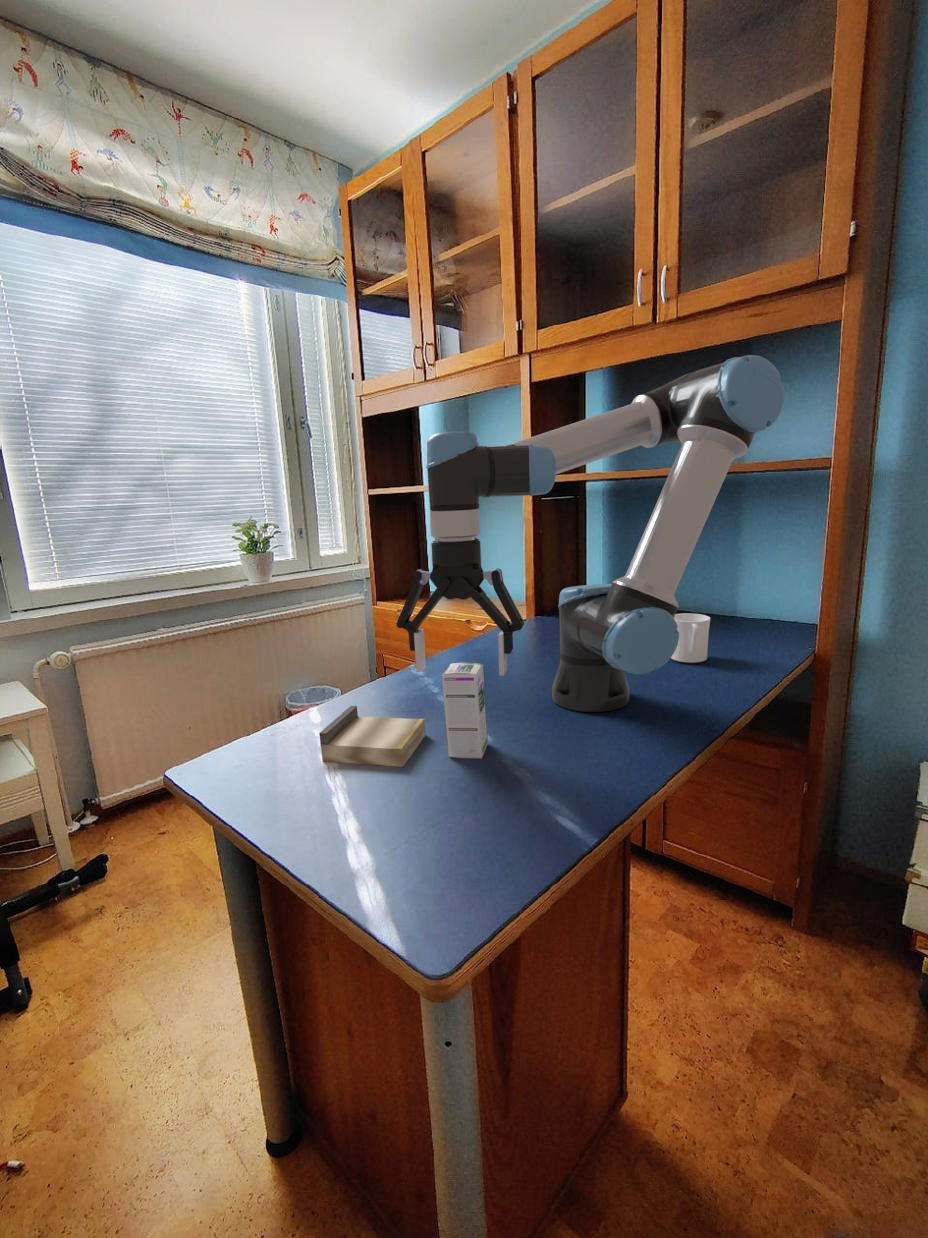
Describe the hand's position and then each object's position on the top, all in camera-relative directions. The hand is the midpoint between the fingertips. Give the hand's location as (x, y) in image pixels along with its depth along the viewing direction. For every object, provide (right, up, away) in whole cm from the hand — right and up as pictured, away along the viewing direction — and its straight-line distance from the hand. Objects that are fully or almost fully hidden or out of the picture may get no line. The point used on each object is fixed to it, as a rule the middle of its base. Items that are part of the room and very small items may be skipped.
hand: (461, 671), depth 92 cm
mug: (+54, -2, +43) cm, 69 cm away
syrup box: (+1, -14, +3) cm, 14 cm away
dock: (-15, -14, +6) cm, 21 cm away
